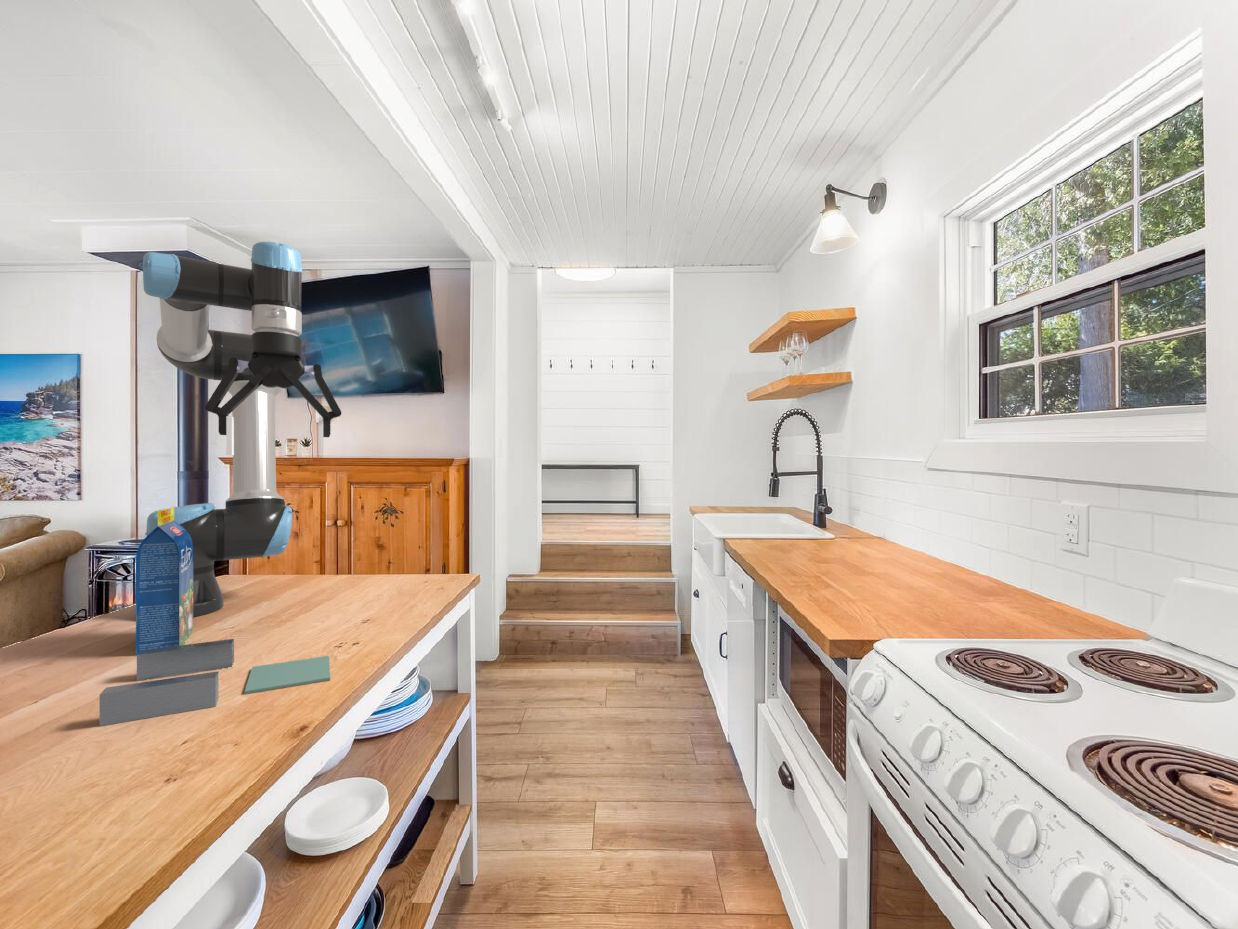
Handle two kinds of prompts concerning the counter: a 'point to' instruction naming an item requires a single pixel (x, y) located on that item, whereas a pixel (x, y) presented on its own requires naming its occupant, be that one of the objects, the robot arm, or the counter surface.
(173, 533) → the blue food package
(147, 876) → the counter surface
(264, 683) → the mat
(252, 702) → the counter surface
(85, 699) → the counter surface
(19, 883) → the counter surface
